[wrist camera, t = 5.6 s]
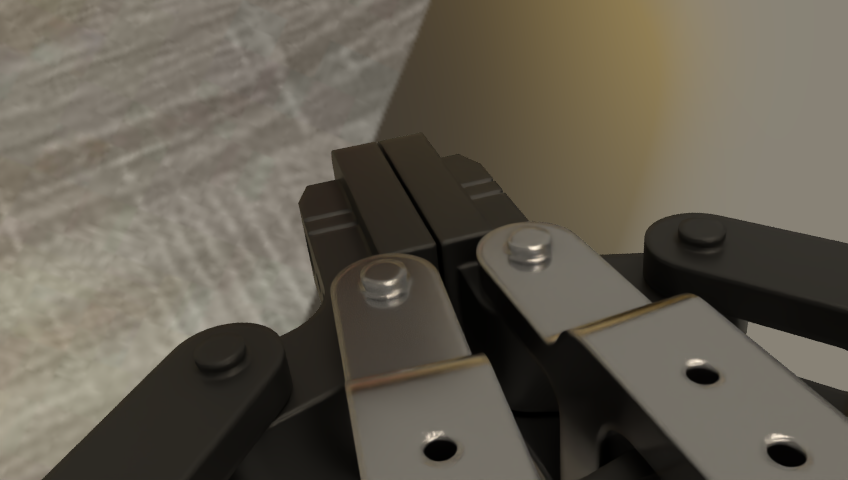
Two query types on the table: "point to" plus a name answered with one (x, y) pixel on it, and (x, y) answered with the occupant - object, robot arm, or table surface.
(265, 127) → the table surface
